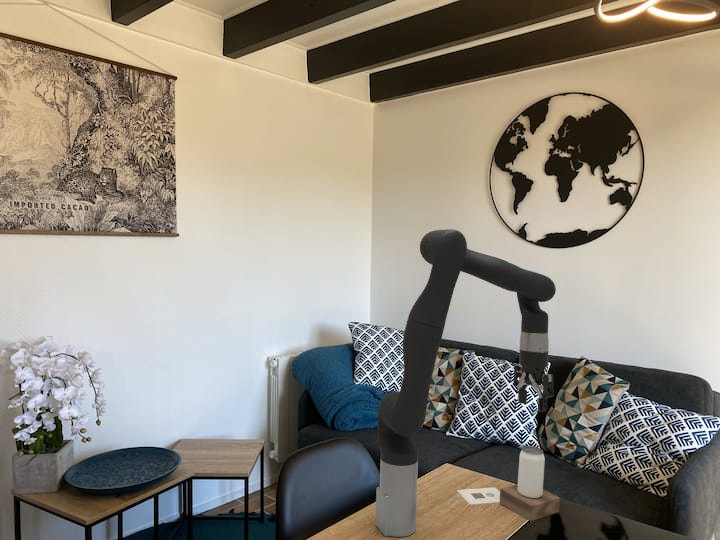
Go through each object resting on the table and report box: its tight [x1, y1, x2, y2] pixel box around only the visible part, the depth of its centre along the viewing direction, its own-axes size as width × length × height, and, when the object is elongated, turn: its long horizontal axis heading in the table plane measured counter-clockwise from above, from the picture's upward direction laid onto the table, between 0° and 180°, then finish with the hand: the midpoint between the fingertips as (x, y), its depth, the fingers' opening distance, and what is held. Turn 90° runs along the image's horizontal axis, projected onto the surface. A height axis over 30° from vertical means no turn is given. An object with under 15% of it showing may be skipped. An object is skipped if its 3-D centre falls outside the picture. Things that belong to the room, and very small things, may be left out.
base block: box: [499, 483, 561, 522], centre depth 147 cm, size 11×11×4 cm
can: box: [517, 445, 546, 499], centre depth 147 cm, size 6×6×12 cm
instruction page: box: [456, 486, 500, 506], centre depth 154 cm, size 12×9×1 cm
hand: (532, 407), depth 149 cm, fingers open, 8 cm apart
